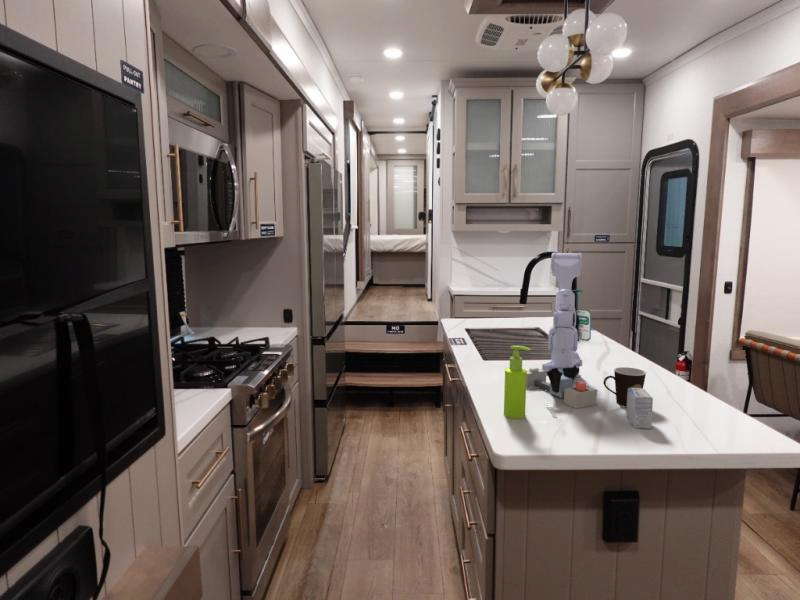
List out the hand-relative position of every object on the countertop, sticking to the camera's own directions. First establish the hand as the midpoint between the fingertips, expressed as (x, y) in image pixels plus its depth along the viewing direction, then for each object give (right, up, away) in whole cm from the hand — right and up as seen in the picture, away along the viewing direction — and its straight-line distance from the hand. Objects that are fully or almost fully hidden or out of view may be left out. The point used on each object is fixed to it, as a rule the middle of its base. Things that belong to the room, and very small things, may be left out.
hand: (561, 390), depth 157 cm
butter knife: (-7, -5, -18) cm, 20 cm away
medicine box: (+14, -5, -22) cm, 26 cm away
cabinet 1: (-6, 0, +12) cm, 13 cm away
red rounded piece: (+3, 0, -7) cm, 8 cm away
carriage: (0, -2, 0) cm, 2 cm away
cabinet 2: (+3, -3, -7) cm, 8 cm away
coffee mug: (+16, -3, -6) cm, 18 cm away
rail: (-1, -1, +3) cm, 4 cm away
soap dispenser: (-18, -4, -16) cm, 24 cm away
